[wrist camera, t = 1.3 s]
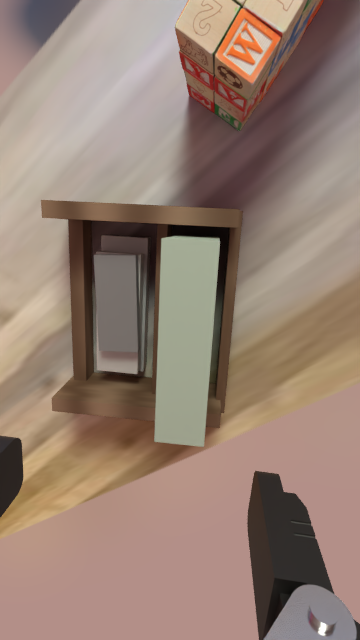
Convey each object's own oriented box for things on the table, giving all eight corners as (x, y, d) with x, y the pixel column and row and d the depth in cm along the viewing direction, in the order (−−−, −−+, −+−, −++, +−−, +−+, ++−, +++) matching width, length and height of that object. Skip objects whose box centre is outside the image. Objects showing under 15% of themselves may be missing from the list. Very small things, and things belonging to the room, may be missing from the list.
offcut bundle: (151, 237, 38) (141, 239, 33) (146, 364, 42) (137, 382, 37) (107, 234, 38) (91, 235, 33) (106, 360, 42) (92, 377, 37)
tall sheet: (218, 236, 37) (220, 241, 23) (208, 374, 41) (203, 447, 27) (181, 234, 37) (161, 238, 23) (174, 371, 41) (154, 441, 28)
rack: (240, 213, 36) (245, 209, 29) (223, 395, 41) (224, 428, 34) (72, 205, 37) (41, 199, 30) (78, 382, 43) (52, 410, 36)
